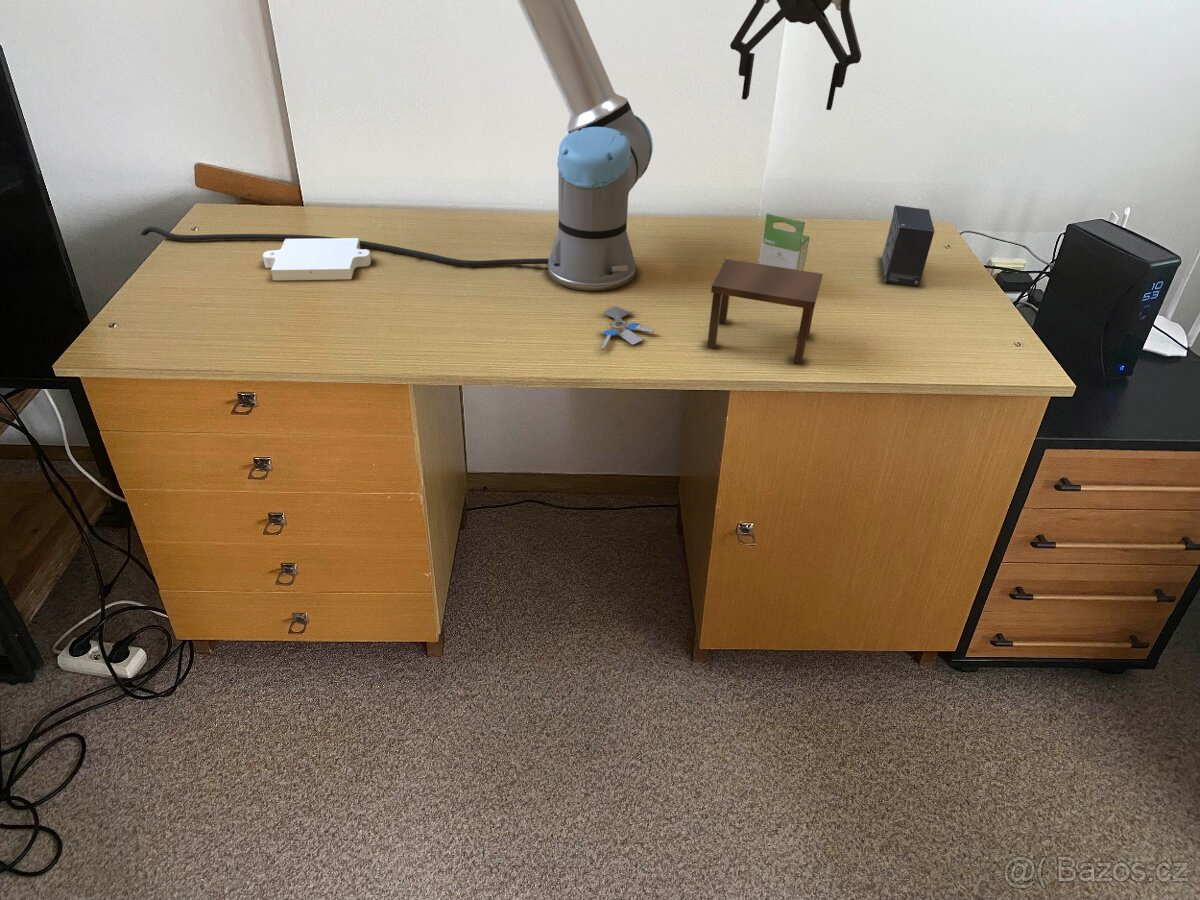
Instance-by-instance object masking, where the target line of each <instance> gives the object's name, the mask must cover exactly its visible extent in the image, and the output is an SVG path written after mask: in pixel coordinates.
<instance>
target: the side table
mask: <svg viewBox="0 0 1200 900" xmlns="http://www.w3.org/2000/svg"><path fill="white" fill-rule="evenodd" d="M823 275H824V274H823V273H819V272H813V271H807V270H803V271H801V270H795V269H788V268H782V267H775V266H769V265H763V264H758V263H756V262H751V261H750V262H749V261H743V260H736V259H729V258H724V260H723V262H722V264H721V266H720V268H719V269H718V272H717V274H716V276H715V278H714V280H713V282H712V284H711V288H710V293H711V294H712V300H711V310H710V318H709V327H708V336H707V343H706V345H707V346H706V348H707V349H708V348H709V349H714V350H715V349H716V346H717V343H718V342H717V341H718V333H719V324H720V325H726V323H727V320H728V312H729V306H730V297H735V298H740V299H746V300H752V301H759V302H766V303H770V304H777V305H782V306H787V307H788V306H789V307H796V308H801V309H802V314H801V317H800V323H799V329H798V334H797V335H798V336H797V341H796V345H795V351H794V356H793V362H792V363H793V364H798V365H801V364H802V363H803V358H804V353H805V348H806V342H807V339H809V336H810V332H811V326H812V322H813V316H814V312H815V311H814V310H815V307H816V303H817V299H818V295H819V292H820V288H821V285H822V280H823Z"/></svg>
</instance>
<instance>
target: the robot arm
mask: <svg viewBox="0 0 1200 900" xmlns="http://www.w3.org/2000/svg"><path fill="white" fill-rule="evenodd" d="M516 1H517V3H518V5H519V8H520V9H521V12H522V14H523V16H524V19H525V20H526V22H527V25H528V27H529V29H530V31H531V33H532V36H533V37H534V40H535V43H536V44H537V47H538V48H539V51H540V53H541V56H542V57H543V60H544V62H545V64H546V66H547V68H548V71H549V73H550V74H551V77H552V79H553V81H554V84H555V86H556V88H557V90H558V92H559V94H560V97H561V99H562V101H563V104H564V105H565V107H566V109H567V112H568V114H569V120H568V123H567V127H566V131H567V132H568V133H567V135H566V136H564V137H563V138H562V140H561V141H560V143H559V148H558V155H557V162H556V163H557V164H556V165H557V170H558V171H557V172H558V175H557V176H558V180H557V181H558V184H557V185H558V187H557V188H558V190H557V192H558V193H557V194H558V195H557V196H558V229H557V232H556V235H555V238H554V242H553V245H552V247H551V250H550V254H549V257H548V258H509V259H508V258H505V259H487V260H470V259H469V260H468V259H467V260H466V259H458V258H451V257H447V256H443V255H439V254H434V253H430V252H424V251H419V250H415V249H411V248H410V249H409V248H406V247H405V248H404V247H400V246H395V245H390V244H389V245H388V244H384V243H377V242H371V241H366V240H360V239H359V241H360V247H365V248H369V249H376V250H382V251H387V252H392V253H398V254H403V255H408V256H413V257H418V258H423V259H426V260H432V261H436V262H440V263H444V264H449V265H454V266H455V265H456V266H461V267H462V266H464V267H493V266H512V265H513V266H516V265H547V272H548V276H549V277H550V278H551V280H553V281H554V282H556V283H557V284H558V285H561V286H563V287H566V288H570V289H574V290H577V291H585V292H600V291H601V292H602V291H608V290H614V289H617V288H620V287H624V286H626V285H627V284H628V283H630V282H632V280H633V279H634V277H635V274H636V261H635V257H634V254H633V250H632V249H633V248H632V247H631V243H630V239H629V235H628V232H627V231H628V229H627V227H628V209H629V208H628V207H629V206H628V205H629V195H630V192H631V190H632V189H634V187H635V185H636V184H637V182H638V181H639V179H641V178H642V177H643V175H645V173H646V171H647V170H648V167H649V165H650V162H651V160H652V156H653V149H654V144H653V143H654V142H653V137H652V134H651V131H650V129H649V127H648V125H647V123H646V122H645V121H643V119H642V118H640V117H639V116H638V115H635V114H634V112H633V109H632V107H631V104H630V103H629V100H628V98H627V97H625V96H623V95H620V94H617V93H616V92H615V90H614V88H613V85H612V83H611V81H610V78H609V76H608V74H607V71H606V69H605V67H604V65H603V62H602V59H601V57H600V55H599V53H598V51H597V48H596V45H595V44H594V42H593V39H592V36H591V34H590V32H589V29H588V27H587V25H586V22H585V20H584V18H583V15H582V13H581V11H580V9H579V6H578V5H577V2H576V0H516ZM770 2H771V0H755V3H754V4H753V6H752V7H751V9H750V11H749V12H748V14H747V16H746V18H745V20H744V21H743V22H742V24H741V26H740V28H739V29H738V31H737V33H736V35H734V37H733V39H732V41H731V42H730V43H729V47H730V49H731V50H733V51H736V52H738V53H739V57H740V58H739V66H738V76H739V77H744V78H743V87H742V93H741V100H743V101H744V100H745V101H746V100H747V99H748V98H749V96H750V91H751V84H752V76H753V68H754V61H755V55H756V53H754V52H752V50H753V49H754V48H755V47H756V46H757V45H758V44H759V43H760V42H761V41H762V40H763V39H764V38H765V37H766V36H767V35H768V34H770V32H771V31H772V30H773V29H774V28H776V27H777V25H778V24H779V23H780V22H781V21H783V19H785V20H786V21H788V23H790V24H791V23H793V24H795V23H801V24H804V25H810V24H813V23H815V24H816V26H817V28H818V29H819V30H820V32H821V34H822V35H823V37H824V39H825V41H826V43H827V44H828V46H829V48H830V50H831V51H832V53H833V55H834V57H835V58H836V60H837V62H835V63H834V66H833V70H832V76H831V79H830V80H831V81H830V86H829V92H828V97H827V102H826V107H825V110H826V111H831V110H832V108H833V106H834V105H833V104H834V98H835V94H836V88H839V89H842V88H843V86H844V84H845V80H846V75H847V72H848V71H847V70H848V67H849V66H851V65H854V64H859V63H860V62H861V59H862V51H861V47H860V43H859V40H858V36H857V32H856V29H855V24H854V20H853V17H852V12H851V0H776V3H777V4H778V7H779V10H778V11H777V12H776V13H775V14H774V15H773V16H772V17H771V18H770V19H769V20H768V21H767V22H766V23H765V24H764V25H763V26H762V27H761V28H760V29H759V30H758V31H757V32H756V33H755V34H754V35H753V36H752V37H751V38H750V39H749V40H748V41H747V42H746V43H745V42H744V41H743V40H744V38H745V37H746V35H747V34H748V32H749V30H750V29H751V27H752V25H753V24H754V22H755V21H756V19H757V18H758V16H759V15H760V13H761V11H762V9H763V7H764V6H765V4H769V3H770ZM831 4H833V5H834V6H835V10H836V11H839V13H840V19H841V23H842V26H843V30H844V34H845V38H846V42H847V45H848V46H847V47H848V48H849V54H847V51H846V49H845V47H844V46H843V44H842V43H841V41H840V40H839V37H838V36H837V33H836V32H835V30H834V28H833V27H832V25H831V23H830V21H829V18H828V17H827V15H826V13H825V11H826V10H827V9H828V8H829V7H830V5H831ZM150 233H156V234H158V235H161V236H163V237H165V238H168V239H171V240H176V241H216V240H217V241H219V240H222V241H223V240H283V241H285V239H318V238H337V237H334V236H326V235H325V236H323V235H312V234H311V235H309V234H291V233H290V234H289V233H288V234H287V233H284V234H283V233H213V234H177V233H172V232H169V231H167V230H164V229H163V228H160V227H158V226H151V225H150V226H147V227H145V228H144V229H143V230H142V231H141V233H140V235H141V236H147V235H149V234H150Z"/></svg>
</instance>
